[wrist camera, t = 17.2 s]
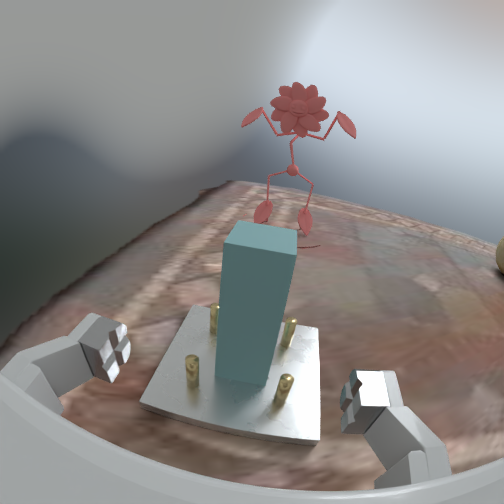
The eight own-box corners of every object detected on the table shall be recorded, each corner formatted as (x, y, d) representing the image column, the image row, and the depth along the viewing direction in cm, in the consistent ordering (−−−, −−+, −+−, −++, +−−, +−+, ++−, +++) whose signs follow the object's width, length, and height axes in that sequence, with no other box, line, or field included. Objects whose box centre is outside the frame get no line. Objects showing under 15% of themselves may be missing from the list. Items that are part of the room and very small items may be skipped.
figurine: (236, 213, 75) (252, 81, 59) (333, 234, 70) (359, 98, 55) (215, 233, 61) (231, 69, 46) (333, 260, 57) (367, 88, 41)
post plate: (315, 335, 34) (324, 305, 32) (315, 445, 20) (333, 420, 18) (193, 311, 36) (193, 281, 34) (141, 408, 21) (132, 378, 19)
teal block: (271, 351, 29) (297, 230, 23) (265, 385, 25) (296, 255, 19) (226, 342, 30) (238, 220, 24) (214, 375, 25) (223, 242, 19)
